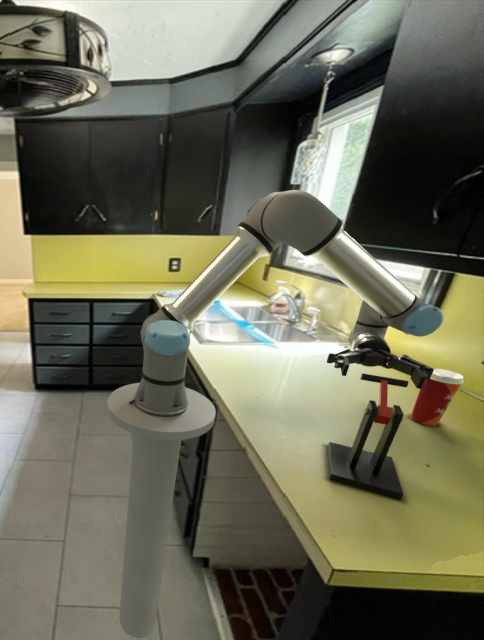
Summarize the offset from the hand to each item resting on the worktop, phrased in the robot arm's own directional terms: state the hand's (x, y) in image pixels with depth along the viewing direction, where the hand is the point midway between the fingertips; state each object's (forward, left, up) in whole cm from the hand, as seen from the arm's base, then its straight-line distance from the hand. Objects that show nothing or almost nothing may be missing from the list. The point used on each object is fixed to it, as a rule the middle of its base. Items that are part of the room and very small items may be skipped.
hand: (382, 376), depth 81 cm
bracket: (-2, -12, -18) cm, 22 cm away
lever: (-1, -7, -3) cm, 8 cm away
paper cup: (+21, +20, -18) cm, 35 cm away
